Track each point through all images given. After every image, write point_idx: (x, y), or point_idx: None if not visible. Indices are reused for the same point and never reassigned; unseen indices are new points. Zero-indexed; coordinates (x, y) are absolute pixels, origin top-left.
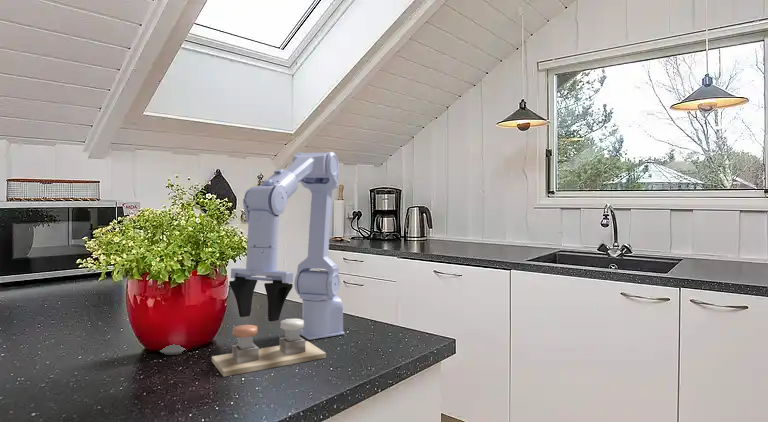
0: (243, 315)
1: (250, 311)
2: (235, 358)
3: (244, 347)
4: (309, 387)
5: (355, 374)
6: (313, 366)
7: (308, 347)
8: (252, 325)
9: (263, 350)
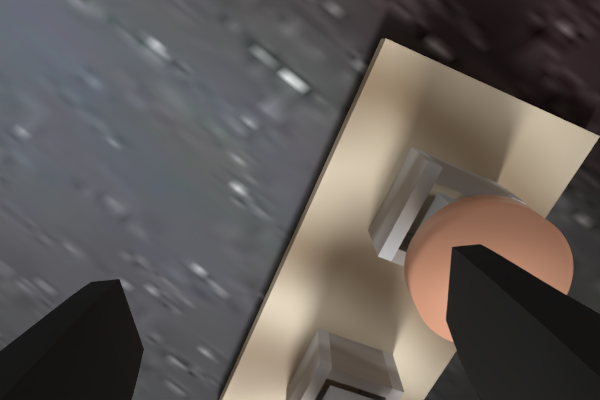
0: (455, 268)
1: (460, 354)
2: (449, 164)
3: (430, 210)
4: (12, 178)
5: None
6: (182, 326)
7: None
8: None
9: None
